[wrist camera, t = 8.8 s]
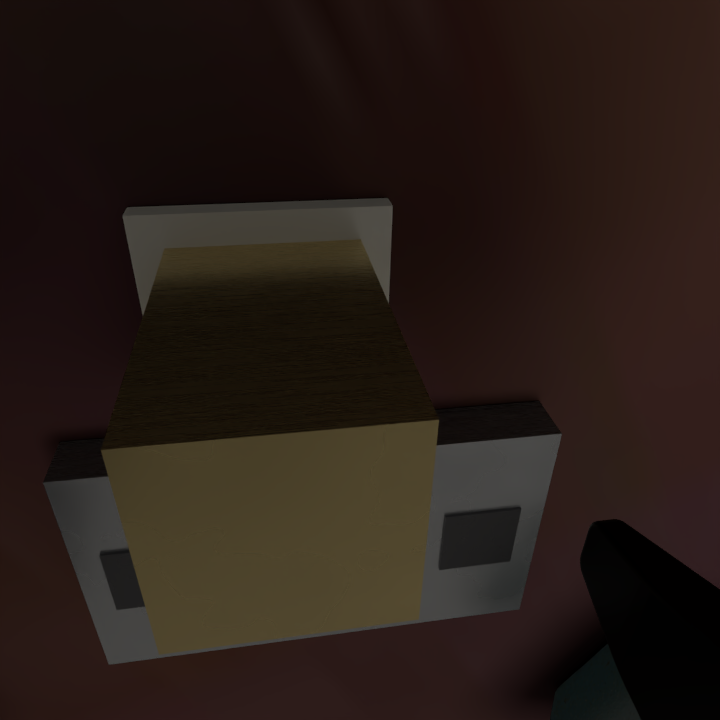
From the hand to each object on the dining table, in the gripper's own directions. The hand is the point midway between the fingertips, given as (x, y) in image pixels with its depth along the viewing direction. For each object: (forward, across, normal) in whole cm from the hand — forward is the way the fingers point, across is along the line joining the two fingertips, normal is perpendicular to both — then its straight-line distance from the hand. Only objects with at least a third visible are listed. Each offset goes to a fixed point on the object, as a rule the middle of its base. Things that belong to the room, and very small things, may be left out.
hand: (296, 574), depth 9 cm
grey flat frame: (+8, -1, +8) cm, 11 cm away
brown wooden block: (+8, 0, 0) cm, 8 cm away
